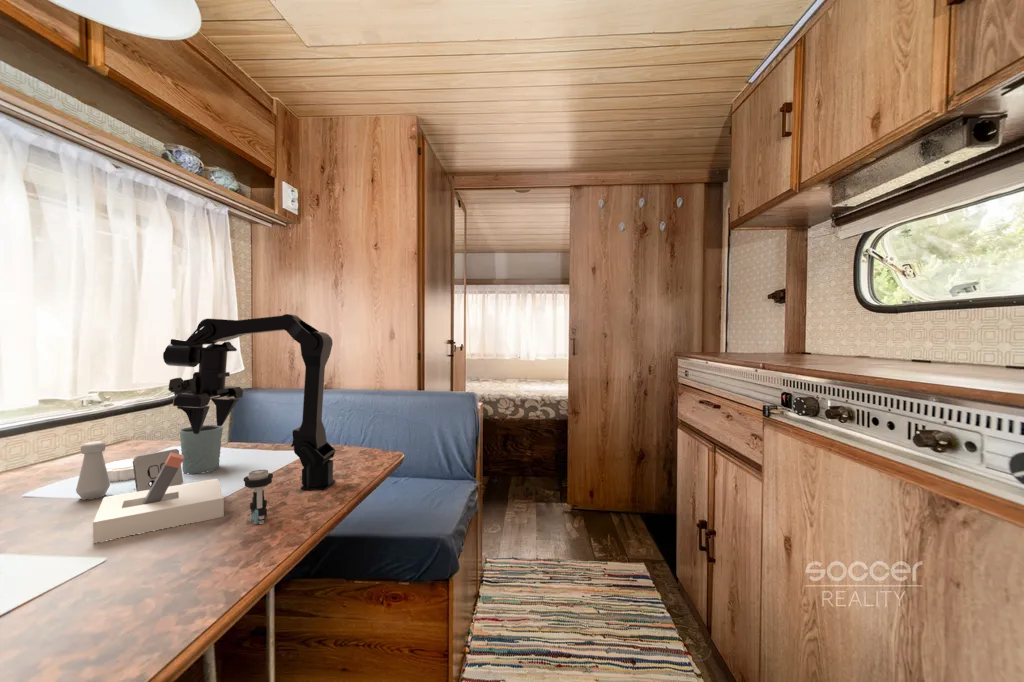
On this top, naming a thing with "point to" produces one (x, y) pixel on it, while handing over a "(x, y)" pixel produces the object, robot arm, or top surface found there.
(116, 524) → the box
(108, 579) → the top surface
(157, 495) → the lever
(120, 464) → the mooncake
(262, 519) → the push button
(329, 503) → the top surface
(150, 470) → the electrical switch
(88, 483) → the salt shaker
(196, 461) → the green cup
